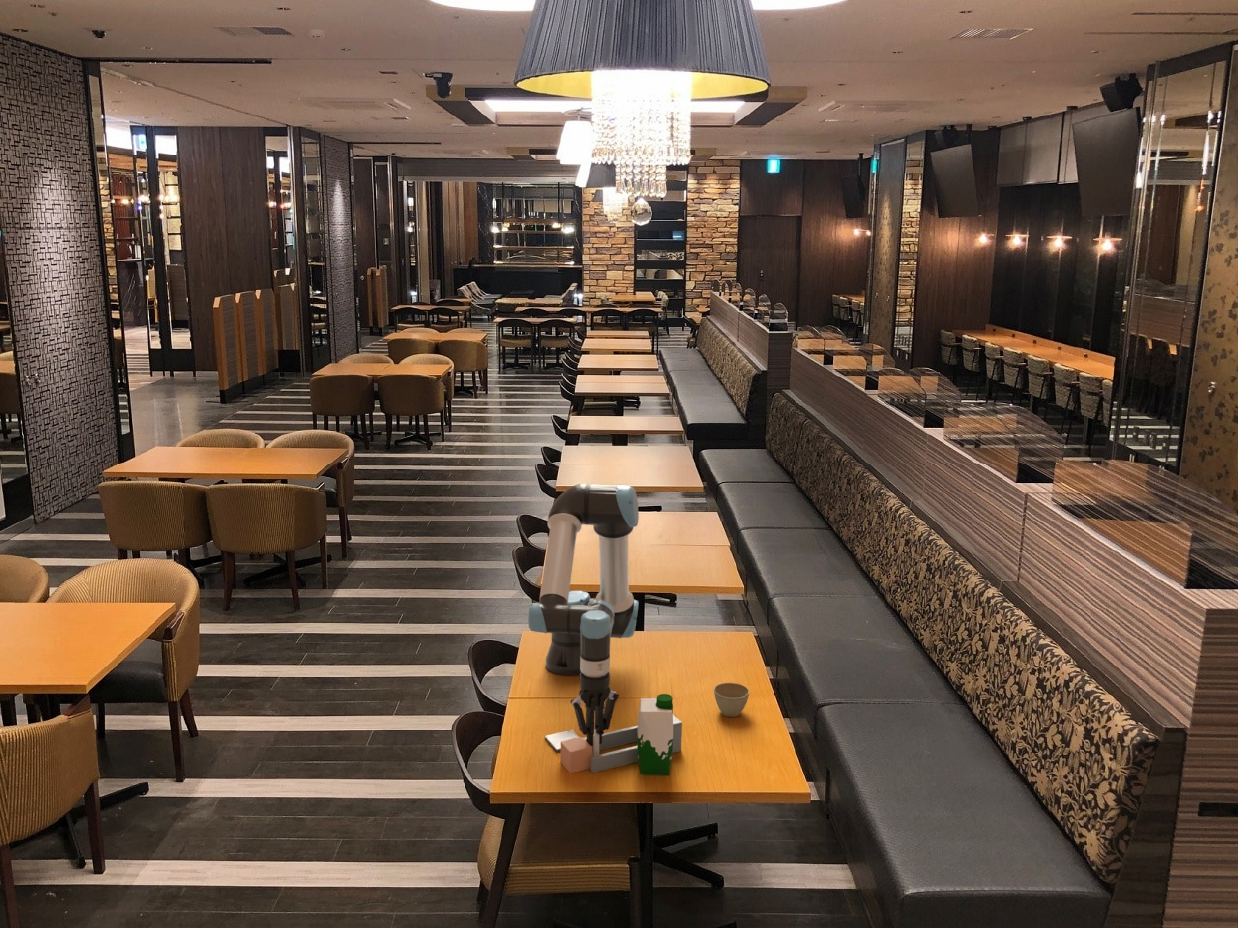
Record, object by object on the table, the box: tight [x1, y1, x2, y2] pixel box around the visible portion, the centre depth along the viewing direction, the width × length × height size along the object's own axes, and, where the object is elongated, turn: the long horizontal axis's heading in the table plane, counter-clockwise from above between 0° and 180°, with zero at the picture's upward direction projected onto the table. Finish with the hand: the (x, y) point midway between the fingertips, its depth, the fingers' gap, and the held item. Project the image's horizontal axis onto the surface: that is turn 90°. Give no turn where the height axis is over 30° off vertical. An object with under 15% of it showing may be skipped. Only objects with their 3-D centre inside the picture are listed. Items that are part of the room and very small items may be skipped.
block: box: [560, 736, 592, 774], centre depth 267 cm, size 6×6×6 cm
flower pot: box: [713, 682, 750, 718], centre depth 296 cm, size 10×10×7 cm
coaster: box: [544, 729, 579, 753], centre depth 280 cm, size 8×8×1 cm
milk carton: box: [636, 693, 674, 776], centre depth 266 cm, size 9×9×20 cm
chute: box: [583, 714, 683, 774], centre depth 274 cm, size 10×26×8 cm, turn 117°
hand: (594, 755), depth 270 cm, fingers closed
